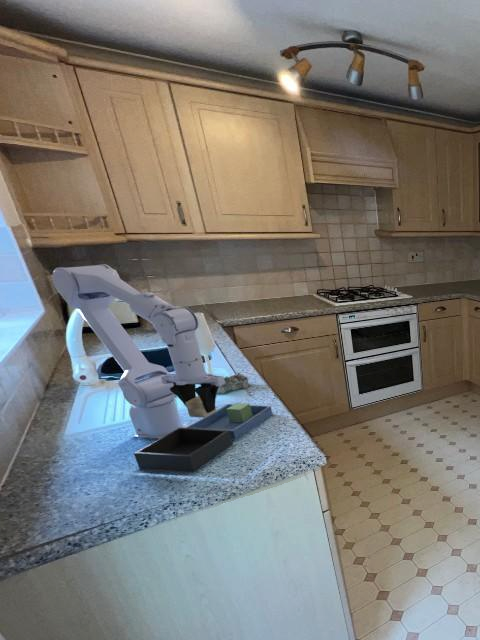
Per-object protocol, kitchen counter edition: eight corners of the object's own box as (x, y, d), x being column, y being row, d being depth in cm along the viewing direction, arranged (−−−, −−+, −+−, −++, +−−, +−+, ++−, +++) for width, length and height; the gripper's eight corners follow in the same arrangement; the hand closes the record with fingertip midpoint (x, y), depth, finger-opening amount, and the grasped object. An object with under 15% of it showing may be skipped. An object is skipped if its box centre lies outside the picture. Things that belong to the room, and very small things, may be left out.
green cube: (229, 421, 113) (226, 408, 112) (239, 415, 117) (236, 402, 115) (243, 422, 113) (239, 409, 111) (252, 416, 117) (249, 403, 115)
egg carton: (216, 396, 130) (213, 384, 129) (207, 390, 134) (204, 379, 133) (252, 386, 138) (249, 375, 137) (242, 381, 142) (240, 370, 141)
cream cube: (189, 416, 100) (185, 402, 99) (202, 410, 104) (197, 395, 103) (204, 417, 100) (200, 403, 99) (216, 410, 104) (212, 396, 102)
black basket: (140, 470, 92) (133, 453, 90) (184, 443, 103) (179, 427, 101) (194, 473, 91) (189, 456, 89) (233, 445, 102) (229, 430, 100)
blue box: (188, 438, 105) (184, 428, 104) (230, 413, 119) (227, 403, 118) (236, 441, 104) (233, 430, 103) (272, 415, 118) (270, 406, 117)
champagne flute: (221, 384, 140) (203, 315, 131) (198, 386, 138) (178, 317, 129) (227, 377, 145) (209, 311, 137) (205, 379, 143) (186, 312, 134)
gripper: (143, 363, 93) (161, 416, 98) (202, 366, 93) (218, 418, 98) (169, 354, 100) (184, 404, 105) (225, 356, 99) (238, 406, 104)
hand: (202, 410), depth 102 cm, fingers closed on cream cube, 4 cm apart
